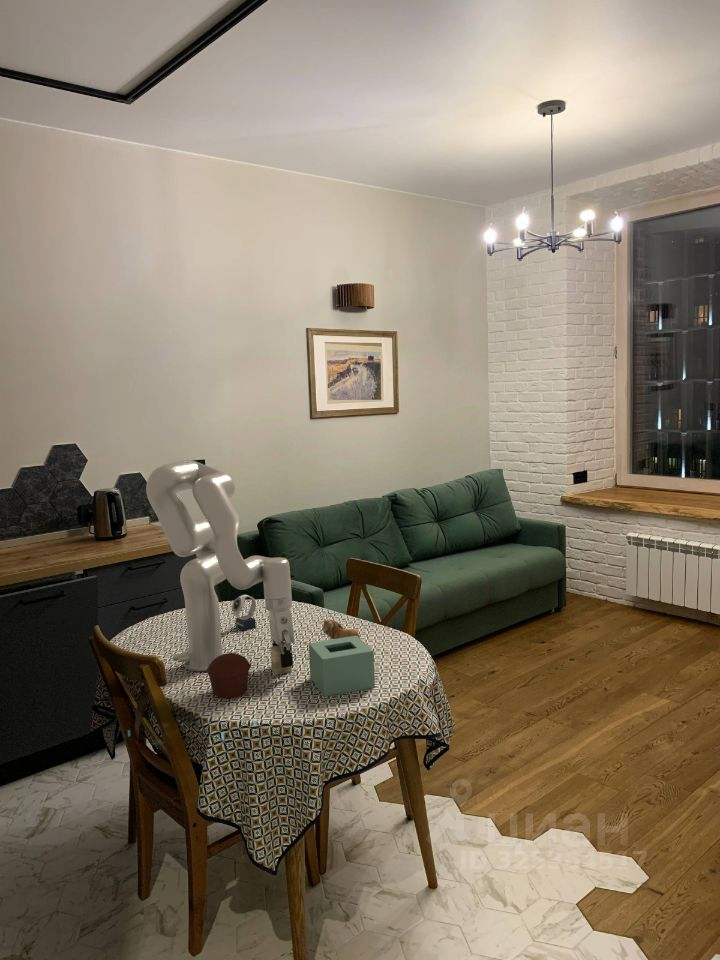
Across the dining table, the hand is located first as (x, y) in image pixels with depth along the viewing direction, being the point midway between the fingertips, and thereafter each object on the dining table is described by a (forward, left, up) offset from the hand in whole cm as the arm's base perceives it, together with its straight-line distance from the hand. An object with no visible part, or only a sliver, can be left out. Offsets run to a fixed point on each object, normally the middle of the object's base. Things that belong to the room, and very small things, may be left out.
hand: (282, 660), depth 204 cm
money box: (+13, -15, -3) cm, 20 cm away
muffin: (-16, -8, -3) cm, 18 cm away
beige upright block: (0, 0, -3) cm, 3 cm away
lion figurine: (+21, +9, -3) cm, 23 cm away
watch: (-2, +42, -3) cm, 43 cm away
